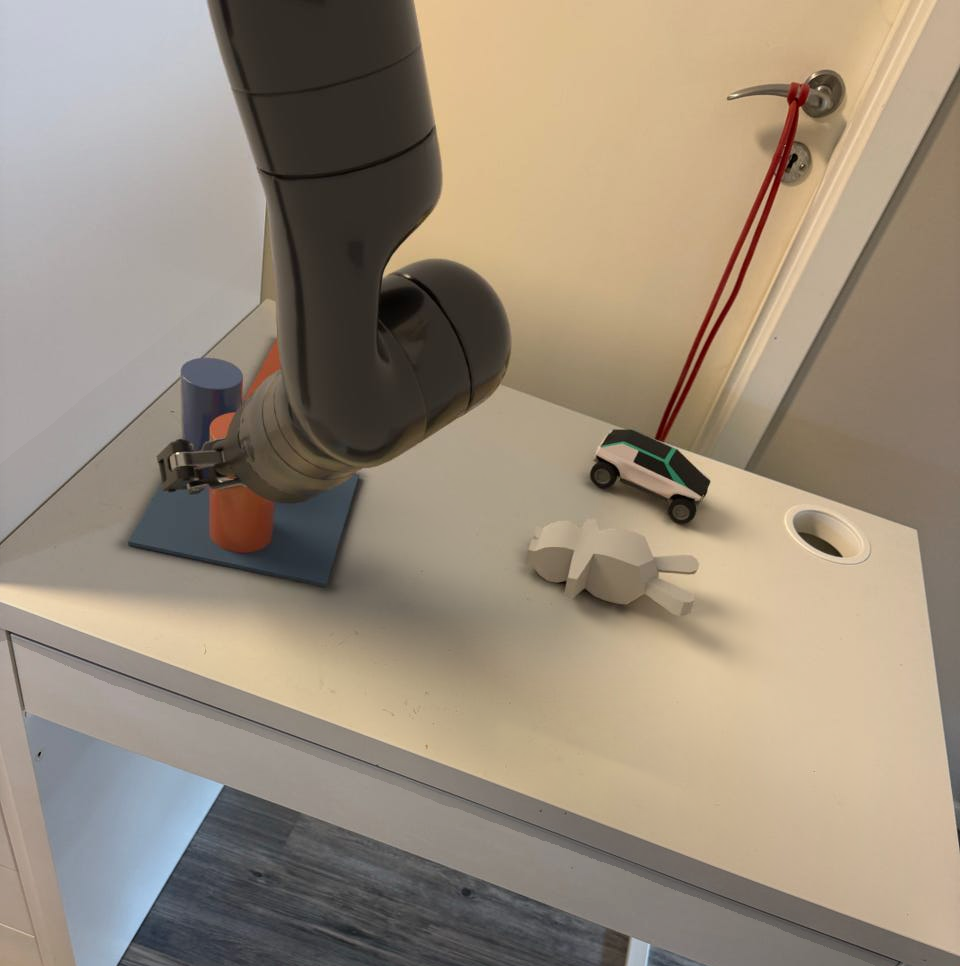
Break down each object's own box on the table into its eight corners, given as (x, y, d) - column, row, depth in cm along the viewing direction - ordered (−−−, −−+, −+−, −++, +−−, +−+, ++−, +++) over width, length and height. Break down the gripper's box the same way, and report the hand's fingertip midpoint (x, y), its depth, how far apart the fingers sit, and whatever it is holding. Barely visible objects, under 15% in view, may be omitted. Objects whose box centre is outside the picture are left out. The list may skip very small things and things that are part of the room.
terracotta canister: (200, 545, 71) (200, 441, 64) (218, 507, 75) (220, 405, 68) (264, 558, 72) (271, 457, 65) (279, 520, 76) (287, 421, 69)
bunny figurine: (546, 494, 81) (707, 534, 79) (538, 539, 84) (691, 577, 83) (523, 552, 74) (698, 597, 72) (515, 598, 78) (682, 642, 76)
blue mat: (127, 545, 70) (127, 541, 70) (189, 439, 82) (189, 435, 81) (325, 587, 72) (326, 583, 71) (358, 477, 83) (359, 474, 83)
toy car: (600, 456, 96) (616, 414, 92) (702, 502, 94) (722, 461, 90) (582, 480, 91) (598, 437, 88) (688, 529, 89) (709, 487, 86)
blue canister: (174, 471, 77) (172, 380, 71) (191, 441, 81) (191, 352, 74) (231, 484, 78) (234, 394, 71) (246, 453, 81) (249, 365, 75)
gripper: (397, 370, 57) (324, 422, 72) (172, 378, 51) (142, 434, 65) (415, 484, 58) (339, 513, 72) (195, 506, 52) (160, 533, 66)
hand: (245, 475), depth 69 cm, fingers open, 8 cm apart
